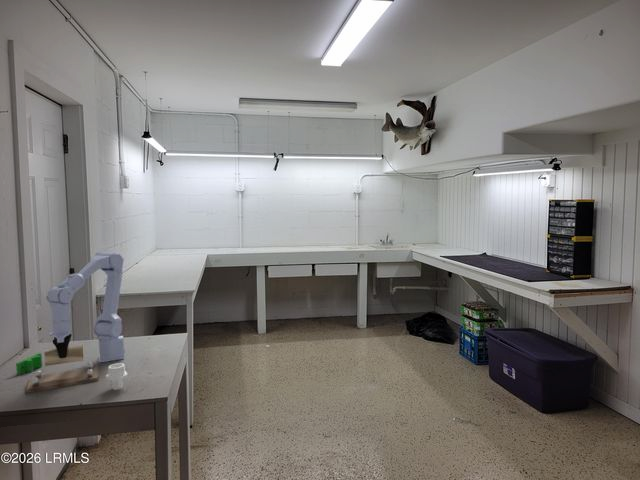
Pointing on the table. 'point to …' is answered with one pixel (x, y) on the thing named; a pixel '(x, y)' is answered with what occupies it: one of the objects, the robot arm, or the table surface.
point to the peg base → (62, 378)
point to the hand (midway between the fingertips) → (63, 356)
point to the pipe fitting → (116, 375)
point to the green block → (29, 364)
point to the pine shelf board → (72, 356)
